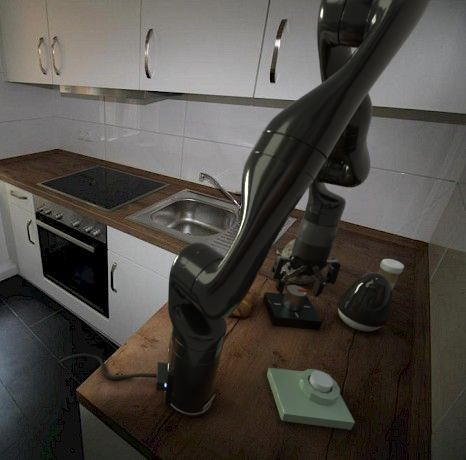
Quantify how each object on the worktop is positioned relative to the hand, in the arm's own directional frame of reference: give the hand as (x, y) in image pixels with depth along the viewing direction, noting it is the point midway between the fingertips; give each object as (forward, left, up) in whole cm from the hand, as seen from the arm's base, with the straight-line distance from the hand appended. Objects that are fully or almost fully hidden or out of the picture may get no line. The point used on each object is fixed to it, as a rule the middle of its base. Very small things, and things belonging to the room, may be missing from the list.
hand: (297, 293), depth 80 cm
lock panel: (0, 0, -7) cm, 7 cm away
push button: (-3, -24, -4) cm, 24 cm away
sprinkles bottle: (+25, +8, -7) cm, 27 cm away
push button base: (-5, -25, -7) cm, 27 cm away
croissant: (-14, +2, -7) cm, 16 cm away
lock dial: (0, 0, -4) cm, 4 cm away
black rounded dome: (+16, -1, -7) cm, 17 cm away
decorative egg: (+7, +16, -7) cm, 19 cm away
